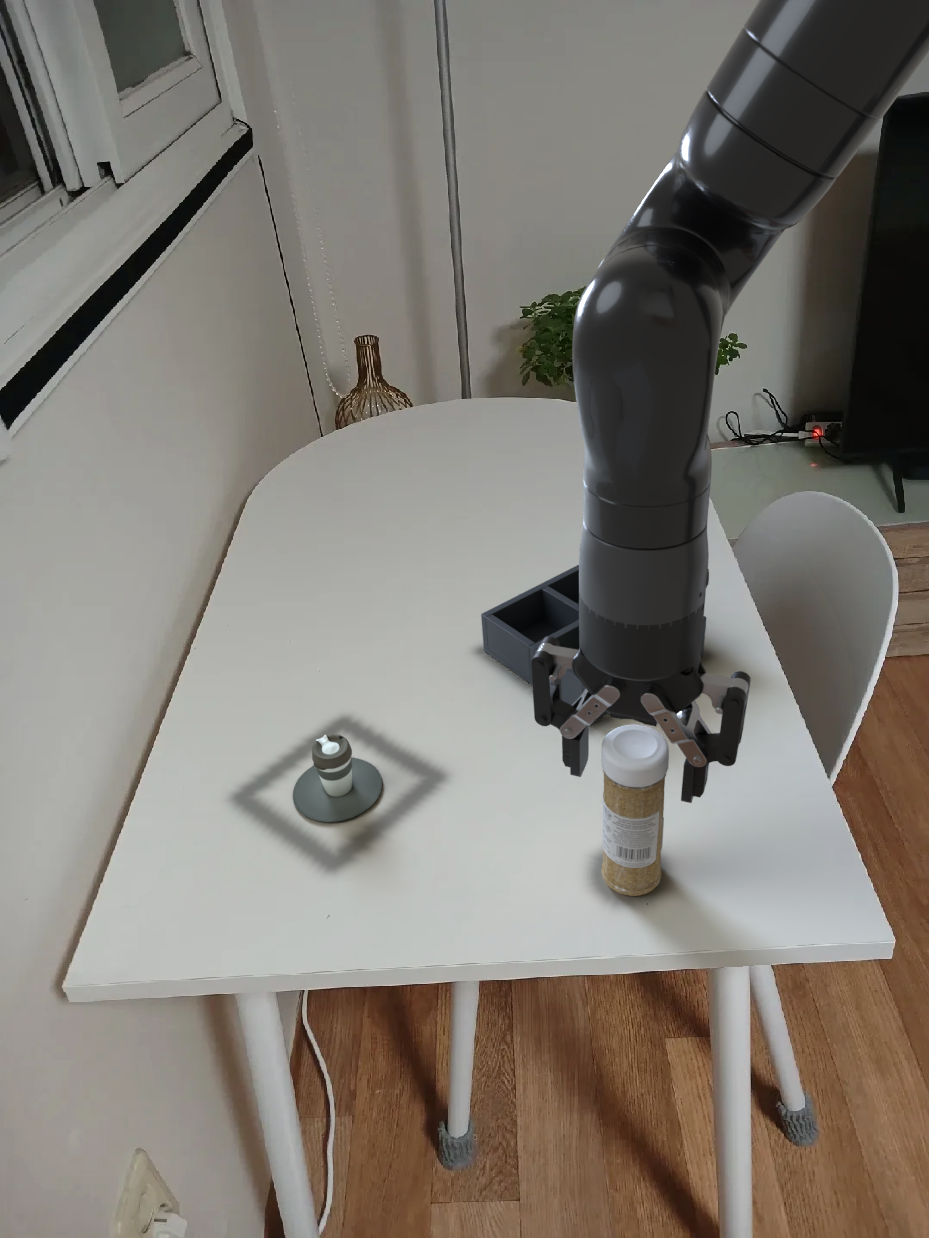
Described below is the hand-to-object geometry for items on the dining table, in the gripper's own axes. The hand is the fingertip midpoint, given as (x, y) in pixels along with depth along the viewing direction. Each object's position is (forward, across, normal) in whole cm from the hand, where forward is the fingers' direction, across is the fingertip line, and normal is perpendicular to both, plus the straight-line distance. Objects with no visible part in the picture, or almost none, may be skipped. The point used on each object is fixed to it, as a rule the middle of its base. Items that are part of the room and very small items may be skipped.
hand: (633, 780), depth 67 cm
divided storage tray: (+10, -10, +26) cm, 30 cm away
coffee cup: (+10, -26, +1) cm, 28 cm away
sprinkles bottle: (+10, 0, 0) cm, 10 cm away
